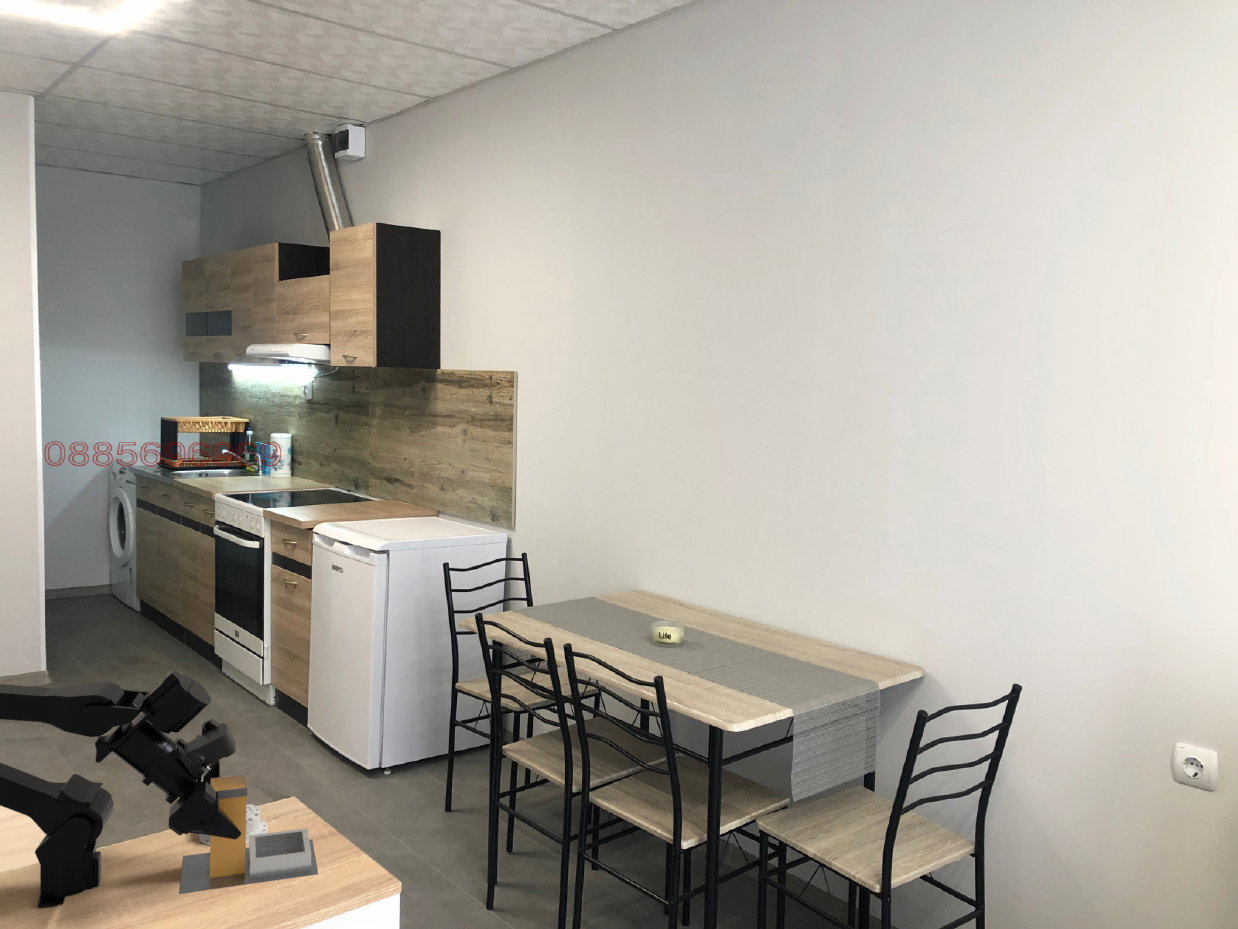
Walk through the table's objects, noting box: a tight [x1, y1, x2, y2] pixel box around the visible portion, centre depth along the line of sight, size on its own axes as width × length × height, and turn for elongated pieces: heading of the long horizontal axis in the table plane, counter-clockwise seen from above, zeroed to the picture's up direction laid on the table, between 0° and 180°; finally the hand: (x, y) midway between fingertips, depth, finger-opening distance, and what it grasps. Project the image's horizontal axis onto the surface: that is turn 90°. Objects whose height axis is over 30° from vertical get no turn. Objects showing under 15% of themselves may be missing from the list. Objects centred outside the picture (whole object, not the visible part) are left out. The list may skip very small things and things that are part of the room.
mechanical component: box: [198, 803, 269, 846], centre depth 146 cm, size 10×4×10 cm
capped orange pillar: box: [209, 774, 248, 878], centre depth 135 cm, size 5×5×12 cm
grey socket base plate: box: [179, 827, 319, 895], centre depth 136 cm, size 18×11×4 cm, turn 112°
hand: (238, 822), depth 135 cm, fingers open, 9 cm apart
